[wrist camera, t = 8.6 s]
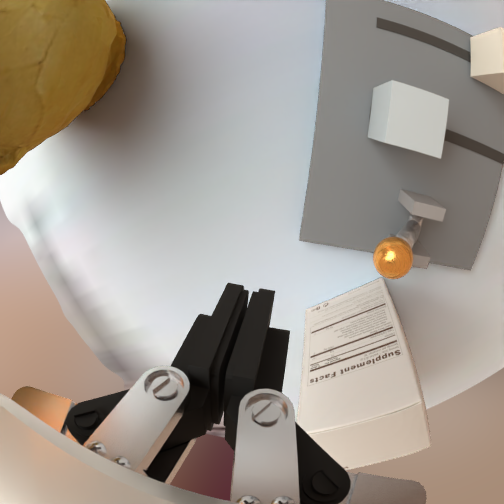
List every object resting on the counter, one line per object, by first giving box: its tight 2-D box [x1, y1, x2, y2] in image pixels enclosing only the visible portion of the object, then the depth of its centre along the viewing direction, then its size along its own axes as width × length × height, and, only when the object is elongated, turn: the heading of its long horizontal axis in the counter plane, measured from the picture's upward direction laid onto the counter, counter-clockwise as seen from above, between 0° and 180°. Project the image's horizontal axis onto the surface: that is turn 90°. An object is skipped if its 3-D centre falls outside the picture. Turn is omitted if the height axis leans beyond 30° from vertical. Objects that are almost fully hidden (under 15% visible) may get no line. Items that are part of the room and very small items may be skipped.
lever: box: [373, 213, 424, 279], centre depth 17 cm, size 2×2×9 cm
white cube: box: [368, 80, 449, 159], centre depth 16 cm, size 4×4×5 cm
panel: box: [299, 0, 504, 270], centre depth 17 cm, size 22×18×5 cm
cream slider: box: [470, 27, 504, 94], centre depth 11 cm, size 4×4×5 cm
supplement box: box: [297, 277, 431, 470], centre depth 22 cm, size 9×9×15 cm
